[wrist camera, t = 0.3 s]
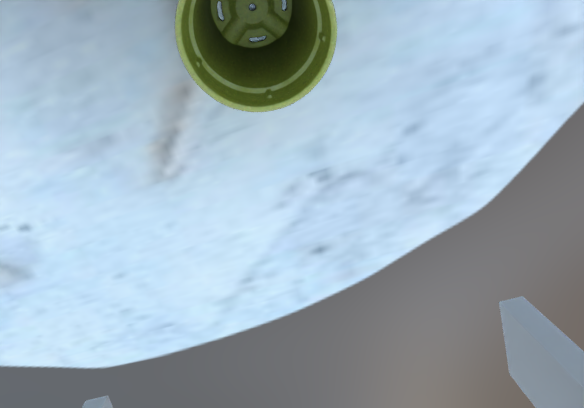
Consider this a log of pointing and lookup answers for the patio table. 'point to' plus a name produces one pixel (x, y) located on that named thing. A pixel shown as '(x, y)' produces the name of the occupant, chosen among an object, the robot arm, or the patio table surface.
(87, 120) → the patio table surface
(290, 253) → the patio table surface
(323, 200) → the patio table surface
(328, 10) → the plant pot
